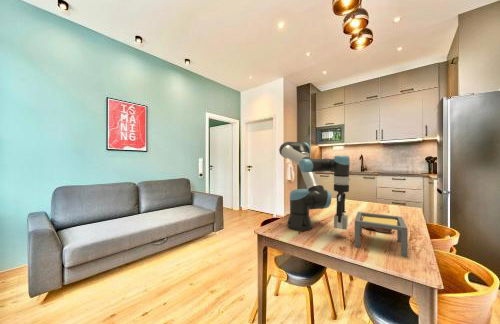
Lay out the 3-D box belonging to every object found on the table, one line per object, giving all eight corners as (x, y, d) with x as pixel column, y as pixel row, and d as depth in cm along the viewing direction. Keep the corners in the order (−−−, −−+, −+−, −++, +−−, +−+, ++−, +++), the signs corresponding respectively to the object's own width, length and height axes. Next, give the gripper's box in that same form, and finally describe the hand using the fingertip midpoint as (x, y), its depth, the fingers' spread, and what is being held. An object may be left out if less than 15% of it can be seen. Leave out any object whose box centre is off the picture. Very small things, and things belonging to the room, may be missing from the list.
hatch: (362, 225, 95) (362, 223, 95) (363, 218, 107) (363, 216, 107) (398, 229, 88) (398, 227, 88) (395, 221, 100) (395, 219, 100)
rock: (355, 210, 126) (379, 207, 124) (357, 227, 127) (382, 224, 125) (366, 219, 111) (394, 215, 109) (369, 238, 111) (397, 234, 109)
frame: (354, 246, 95) (354, 220, 95) (357, 233, 111) (357, 211, 111) (407, 257, 84) (407, 228, 84) (402, 241, 101) (402, 216, 101)
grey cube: (333, 227, 106) (334, 216, 106) (335, 224, 111) (335, 213, 111) (346, 229, 103) (346, 218, 102) (347, 226, 108) (347, 215, 107)
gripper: (346, 187, 96) (345, 233, 97) (350, 182, 112) (350, 222, 113) (330, 185, 100) (329, 230, 101) (336, 181, 116) (336, 219, 117)
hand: (340, 226), depth 107 cm, fingers closed on grey cube, 6 cm apart
